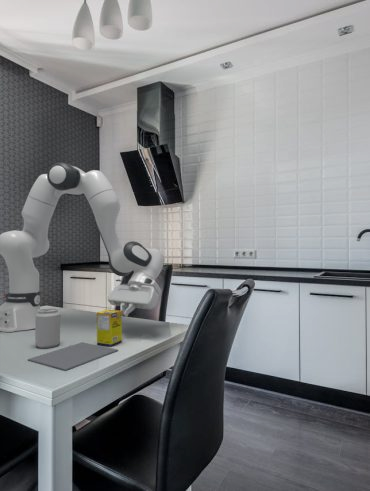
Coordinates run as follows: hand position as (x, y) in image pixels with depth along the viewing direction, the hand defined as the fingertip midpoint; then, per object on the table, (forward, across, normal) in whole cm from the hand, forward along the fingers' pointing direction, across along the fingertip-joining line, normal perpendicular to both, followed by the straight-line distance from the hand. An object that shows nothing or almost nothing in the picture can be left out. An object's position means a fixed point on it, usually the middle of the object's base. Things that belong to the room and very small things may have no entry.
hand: (122, 315), depth 118 cm
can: (+19, -16, -7) cm, 26 cm away
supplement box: (+11, 0, +1) cm, 11 cm away
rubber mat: (+21, 0, -9) cm, 23 cm away
